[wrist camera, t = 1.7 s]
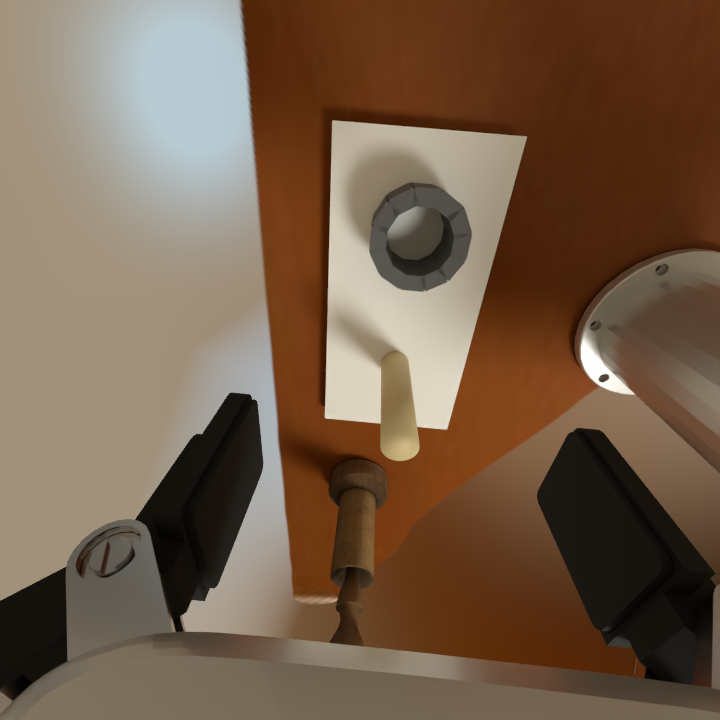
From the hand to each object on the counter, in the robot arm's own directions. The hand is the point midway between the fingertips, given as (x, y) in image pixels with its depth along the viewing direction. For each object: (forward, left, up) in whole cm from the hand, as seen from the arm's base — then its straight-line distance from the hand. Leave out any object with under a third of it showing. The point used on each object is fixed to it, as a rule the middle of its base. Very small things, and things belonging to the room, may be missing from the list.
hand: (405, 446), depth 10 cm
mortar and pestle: (+1, +25, -20) cm, 31 cm away
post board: (-1, +3, -19) cm, 20 cm away
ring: (-1, -3, -18) cm, 18 cm away
